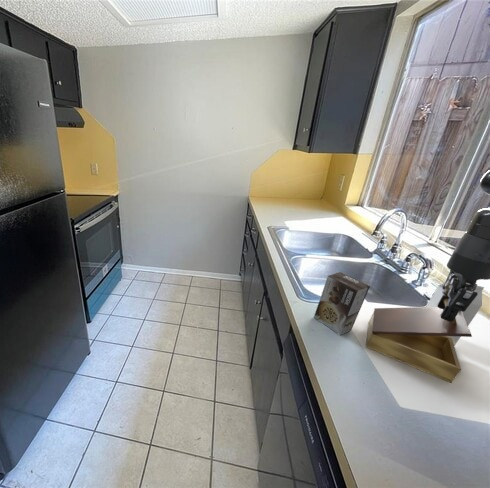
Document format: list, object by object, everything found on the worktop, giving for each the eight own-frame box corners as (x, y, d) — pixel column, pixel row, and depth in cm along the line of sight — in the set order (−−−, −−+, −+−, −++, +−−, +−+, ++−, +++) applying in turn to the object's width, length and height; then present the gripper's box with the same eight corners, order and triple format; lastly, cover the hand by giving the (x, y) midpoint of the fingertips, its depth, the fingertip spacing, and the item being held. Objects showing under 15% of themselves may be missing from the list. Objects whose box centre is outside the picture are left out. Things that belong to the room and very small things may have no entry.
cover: (460, 308, 69) (455, 291, 68) (472, 336, 59) (466, 316, 59) (375, 310, 81) (370, 295, 81) (372, 333, 72) (367, 317, 71)
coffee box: (352, 329, 80) (372, 286, 73) (339, 335, 77) (358, 291, 71) (325, 312, 87) (340, 271, 81) (312, 316, 85) (327, 274, 78)
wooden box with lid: (443, 350, 74) (451, 338, 72) (451, 383, 64) (461, 369, 62) (368, 322, 83) (374, 310, 81) (365, 346, 74) (371, 333, 72)
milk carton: (415, 324, 84) (444, 273, 76) (445, 332, 80) (478, 281, 73) (421, 337, 78) (453, 285, 70) (453, 347, 75) (490, 293, 67)
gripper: (514, 271, 52) (471, 336, 59) (493, 249, 62) (459, 306, 69) (460, 260, 56) (427, 321, 63) (450, 241, 66) (422, 295, 73)
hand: (444, 313), depth 66 cm, fingers closed on cover, 5 cm apart
